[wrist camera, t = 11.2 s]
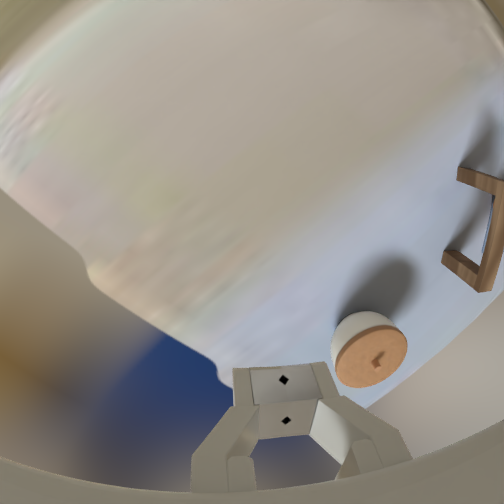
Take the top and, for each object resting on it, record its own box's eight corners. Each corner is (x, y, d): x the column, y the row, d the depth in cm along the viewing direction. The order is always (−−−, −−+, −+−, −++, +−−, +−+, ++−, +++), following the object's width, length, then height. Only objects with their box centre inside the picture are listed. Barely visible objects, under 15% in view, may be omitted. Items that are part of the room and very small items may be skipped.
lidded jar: (388, 291, 44) (418, 327, 36) (382, 345, 49) (406, 383, 40) (320, 307, 44) (341, 349, 36) (322, 361, 48) (338, 404, 40)
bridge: (440, 262, 44) (478, 292, 35) (458, 166, 38) (504, 182, 29) (454, 261, 44) (491, 290, 35) (471, 169, 38) (516, 184, 29)
